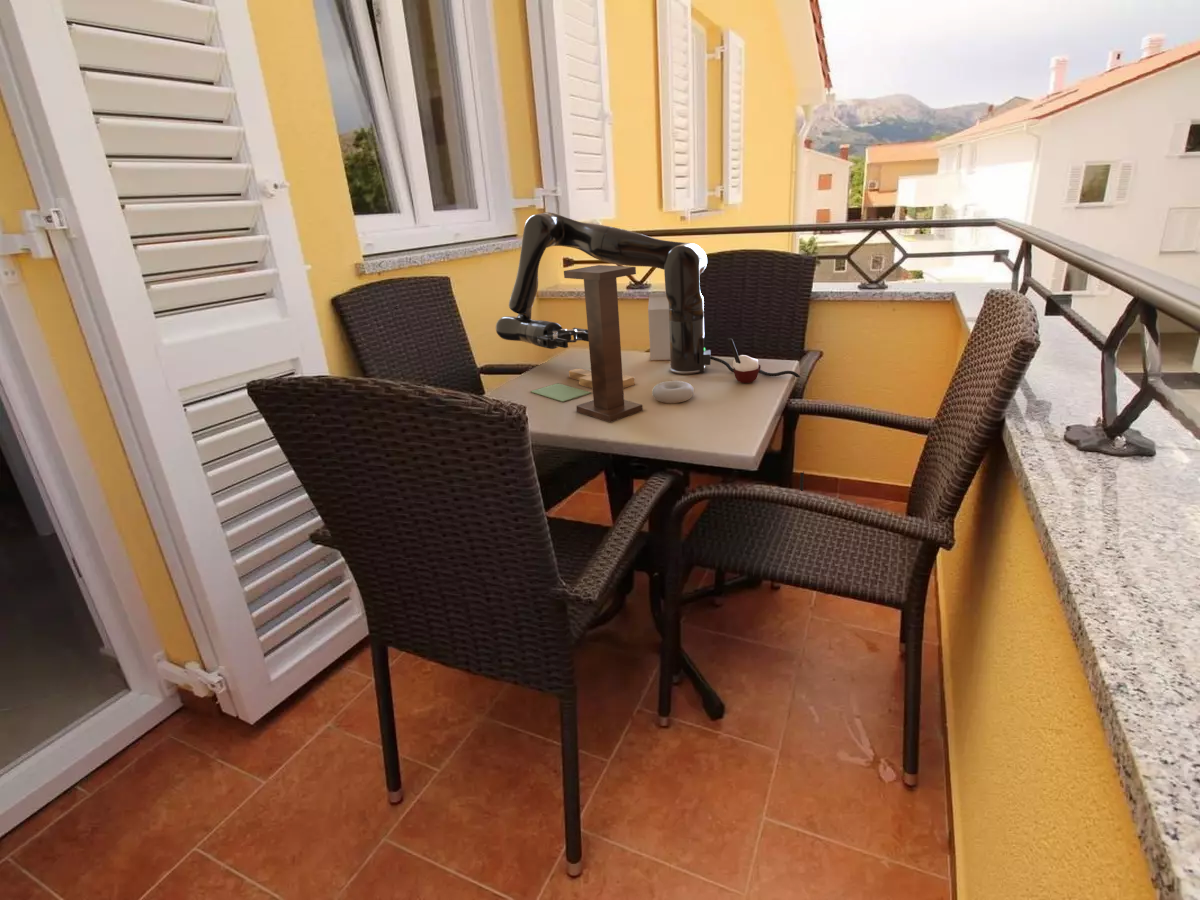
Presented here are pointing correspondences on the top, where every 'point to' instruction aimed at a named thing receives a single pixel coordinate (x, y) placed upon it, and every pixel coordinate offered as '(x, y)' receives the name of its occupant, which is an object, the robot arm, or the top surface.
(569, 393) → the cloth
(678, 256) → the robot arm
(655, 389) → the donut
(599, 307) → the stand
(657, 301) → the milk carton
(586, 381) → the paddle
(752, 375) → the cocoa
